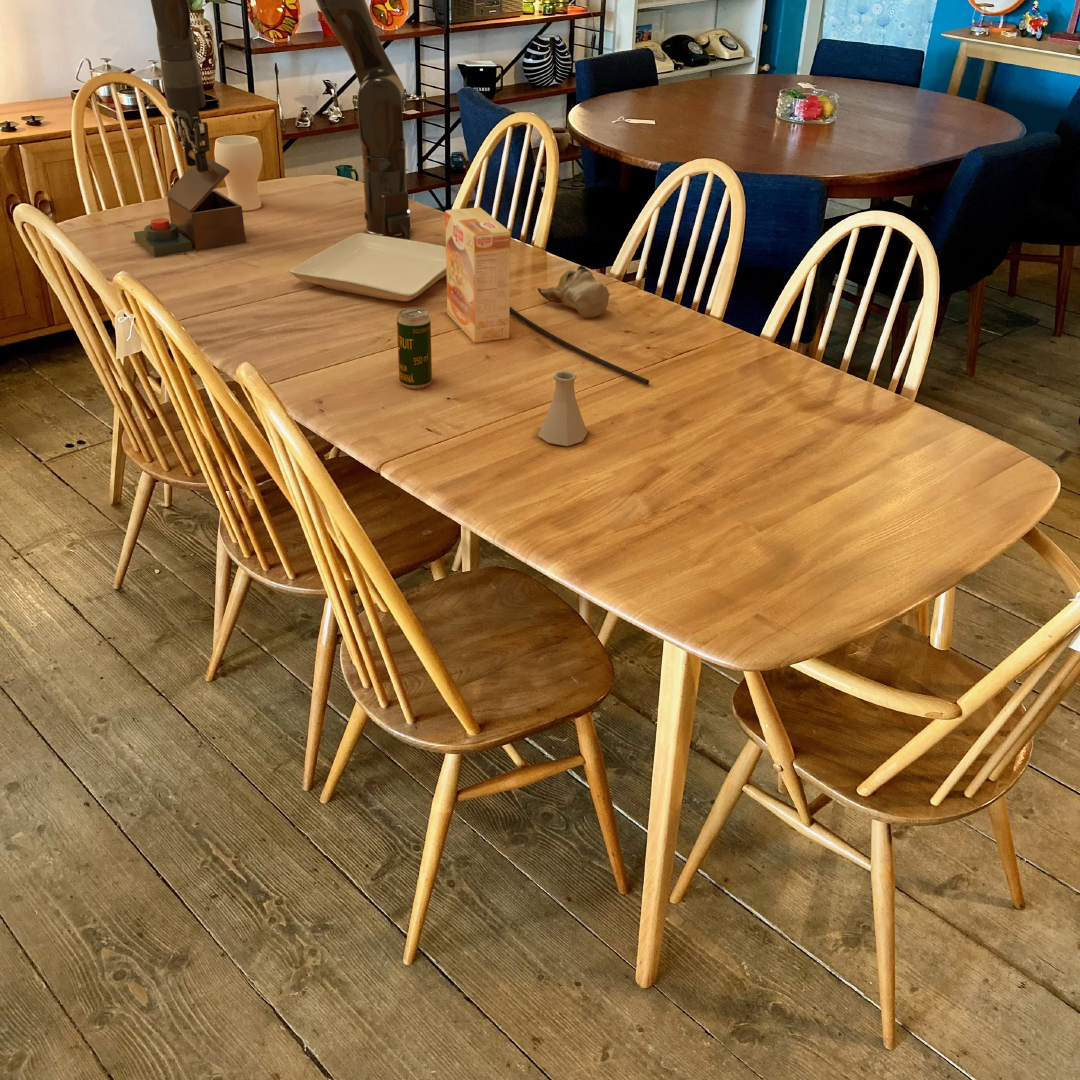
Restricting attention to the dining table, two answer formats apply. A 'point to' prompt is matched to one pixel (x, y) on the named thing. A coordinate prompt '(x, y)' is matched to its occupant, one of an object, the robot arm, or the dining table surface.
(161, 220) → the button
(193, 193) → the chest lid
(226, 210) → the chest
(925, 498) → the dining table surface
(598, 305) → the ceramic sculpture
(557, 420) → the flask
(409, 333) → the green soda can
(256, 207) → the cup
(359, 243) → the square plate
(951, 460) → the dining table surface
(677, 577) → the dining table surface
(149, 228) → the green button base
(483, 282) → the coffeecake box
